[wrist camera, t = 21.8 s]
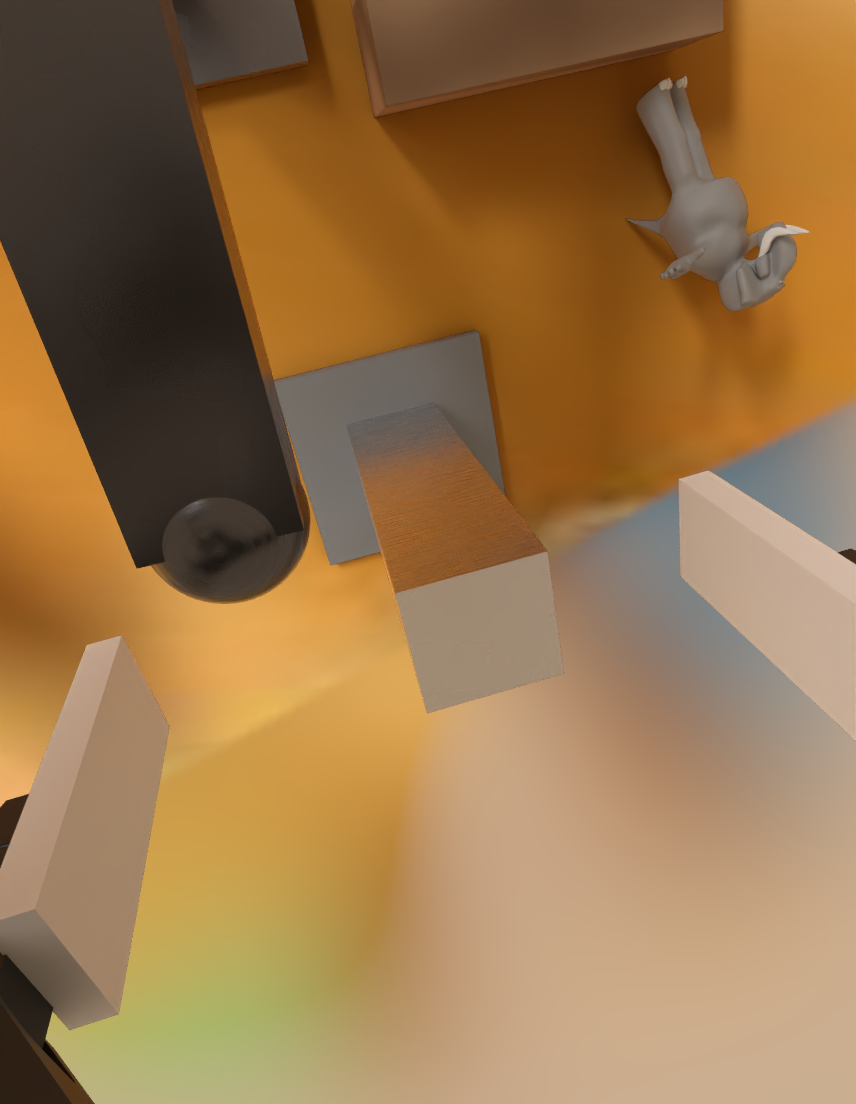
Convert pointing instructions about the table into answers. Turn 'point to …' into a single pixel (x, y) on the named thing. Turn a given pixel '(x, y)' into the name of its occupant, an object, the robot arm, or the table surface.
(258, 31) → the handle post
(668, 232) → the elephant figurine
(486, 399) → the mat
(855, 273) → the table surface
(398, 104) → the eye block
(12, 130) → the dark grey bar
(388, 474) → the peg
